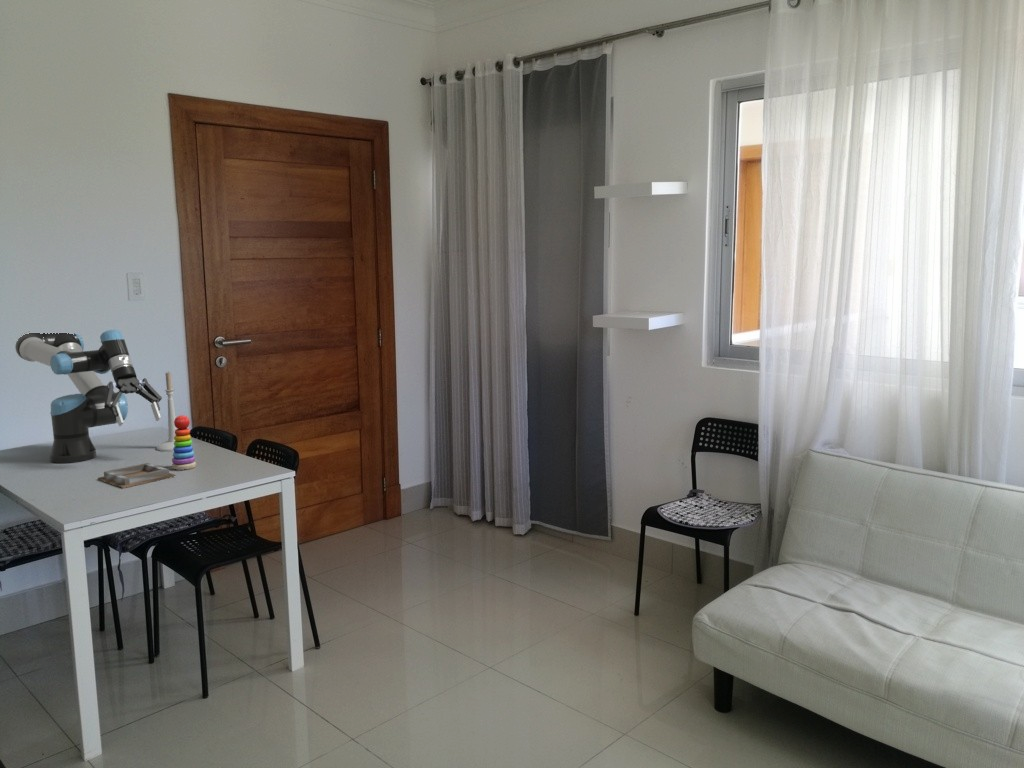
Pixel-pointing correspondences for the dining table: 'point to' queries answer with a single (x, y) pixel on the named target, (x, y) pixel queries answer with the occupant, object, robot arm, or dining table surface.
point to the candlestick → (169, 417)
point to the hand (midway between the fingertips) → (140, 421)
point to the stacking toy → (183, 445)
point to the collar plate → (135, 475)
